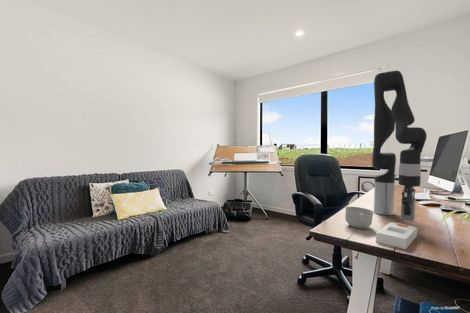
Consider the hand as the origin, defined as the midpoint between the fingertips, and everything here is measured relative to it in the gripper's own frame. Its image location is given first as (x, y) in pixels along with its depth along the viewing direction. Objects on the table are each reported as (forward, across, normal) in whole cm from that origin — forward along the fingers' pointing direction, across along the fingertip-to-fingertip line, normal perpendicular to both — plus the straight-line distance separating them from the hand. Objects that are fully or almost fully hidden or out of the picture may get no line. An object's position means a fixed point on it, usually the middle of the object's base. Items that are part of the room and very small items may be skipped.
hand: (408, 213), depth 101 cm
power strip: (+7, +17, 0) cm, 18 cm away
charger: (+2, 0, 0) cm, 2 cm away
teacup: (+7, +13, -15) cm, 21 cm away
